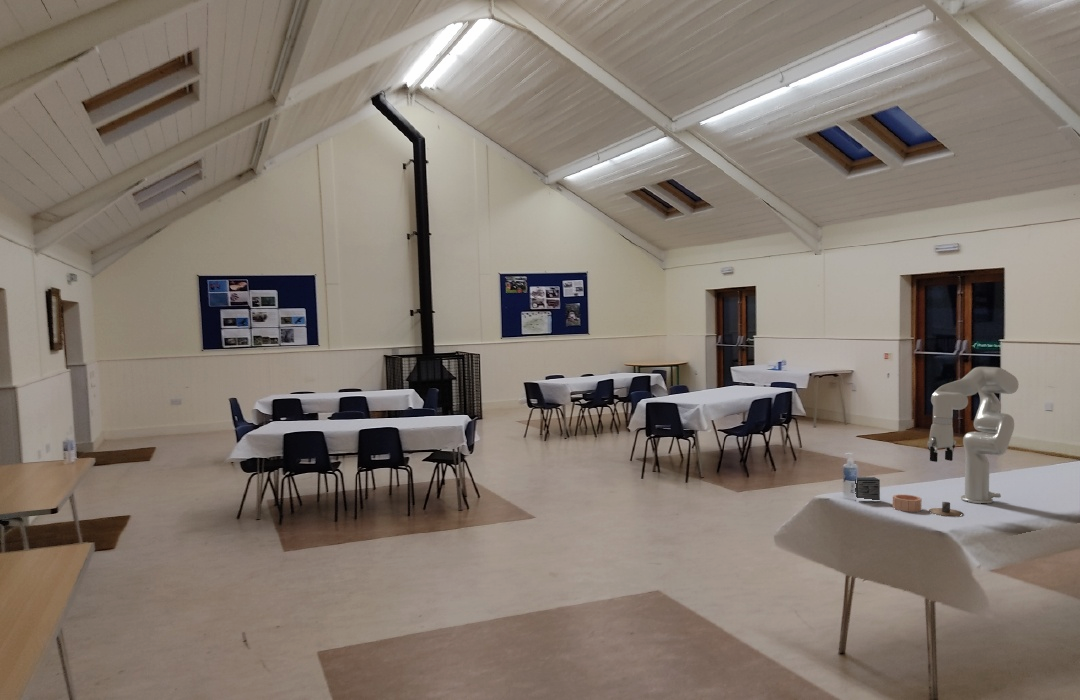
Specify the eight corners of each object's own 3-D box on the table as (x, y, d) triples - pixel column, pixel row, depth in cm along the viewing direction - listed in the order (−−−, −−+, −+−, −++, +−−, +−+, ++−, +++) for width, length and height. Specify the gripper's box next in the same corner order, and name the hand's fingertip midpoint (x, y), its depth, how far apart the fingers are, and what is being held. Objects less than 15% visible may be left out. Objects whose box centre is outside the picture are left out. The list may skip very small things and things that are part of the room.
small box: (874, 498, 342) (874, 476, 341) (880, 502, 335) (880, 479, 335) (851, 498, 342) (851, 476, 342) (856, 502, 336) (857, 479, 335)
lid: (955, 510, 322) (955, 499, 322) (969, 518, 309) (969, 506, 309) (923, 509, 323) (924, 498, 323) (936, 517, 311) (936, 506, 310)
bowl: (915, 505, 328) (915, 494, 328) (925, 512, 317) (925, 500, 317) (889, 505, 329) (889, 494, 329) (898, 511, 318) (898, 500, 318)
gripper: (947, 420, 326) (946, 458, 326) (921, 421, 318) (919, 460, 319) (963, 421, 319) (962, 461, 319) (936, 423, 312) (935, 463, 312)
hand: (941, 460), depth 319 cm, fingers open, 9 cm apart
